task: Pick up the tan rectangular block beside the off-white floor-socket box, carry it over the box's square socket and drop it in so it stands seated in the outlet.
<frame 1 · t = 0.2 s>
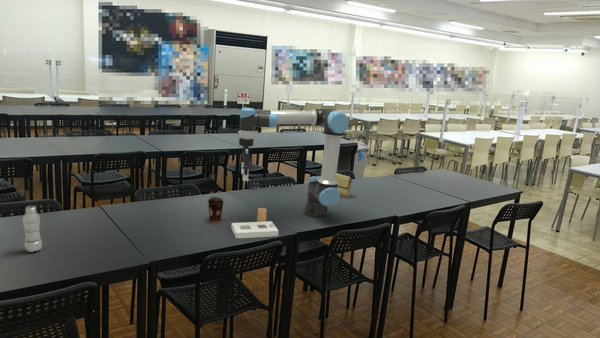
hand: (244, 177, 234), 27 cm above the table, fingers open, 13 cm apart
socket box: (254, 232, 231), on the table
coffee cup: (214, 221, 242), on the table
clutch purse: (332, 193, 313), on the table
tan rectangular block: (261, 222, 245), on the table
plastic bottle: (33, 251, 191), on the table
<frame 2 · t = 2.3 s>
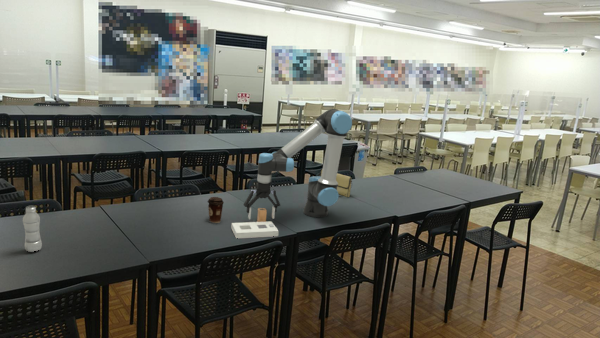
hand: (261, 218, 244), 3 cm above the table, fingers open, 13 cm apart
nothing on the table moved.
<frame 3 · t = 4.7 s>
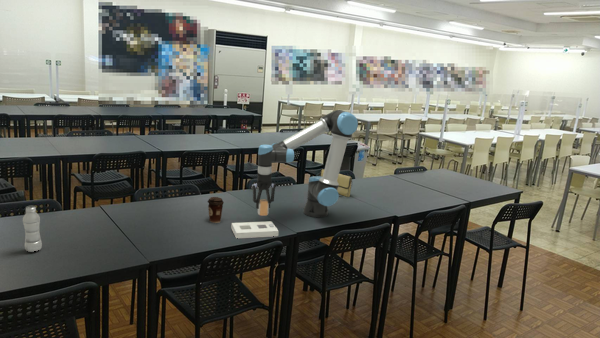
hand: (262, 213, 244), 5 cm above the table, fingers closed on tan rectangular block, 4 cm apart
tan rectangular block: (262, 214, 244), point 5 cm above the table, touching gripper
everything else where it was.
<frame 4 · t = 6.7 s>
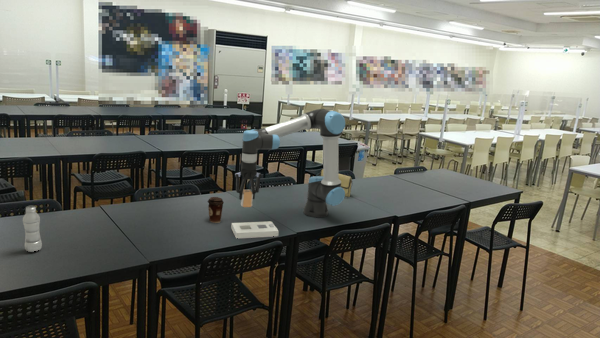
hand: (246, 205, 226), 15 cm above the table, fingers closed on tan rectangular block, 4 cm apart
tan rectangular block: (246, 205, 226), point 15 cm above the table, touching gripper
everything else where it was.
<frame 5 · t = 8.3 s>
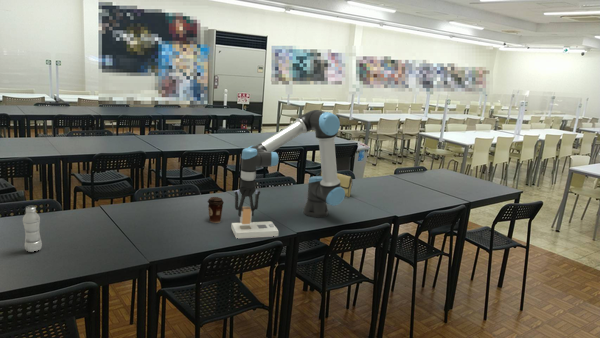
hand: (245, 222, 228), 6 cm above the table, fingers closed on tan rectangular block, 4 cm apart
tan rectangular block: (245, 222, 228), point 6 cm above the table, touching gripper
everything else where it was.
when the fingers open (5 cm above the table, at t = 9.2 s): tan rectangular block drops 4 cm, resting in socket box.
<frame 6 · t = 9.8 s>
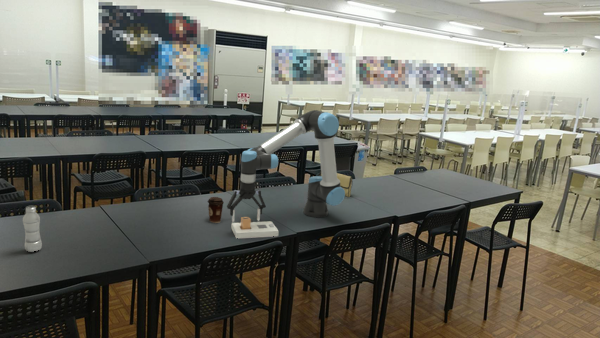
hand: (245, 220, 228), 7 cm above the table, fingers open, 13 cm apart
tan rectangular block: (245, 232, 229), resting in socket box
everything else where it was.
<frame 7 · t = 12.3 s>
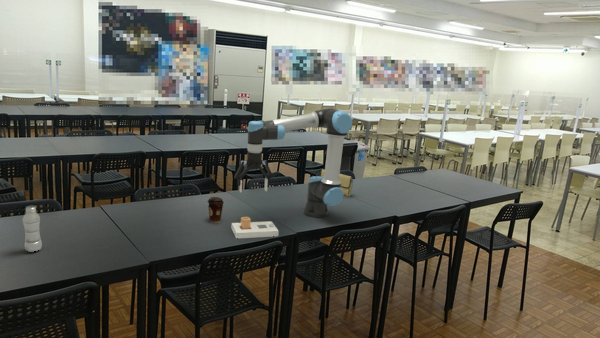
hand: (253, 191, 230), 21 cm above the table, fingers open, 13 cm apart
nothing on the table moved.
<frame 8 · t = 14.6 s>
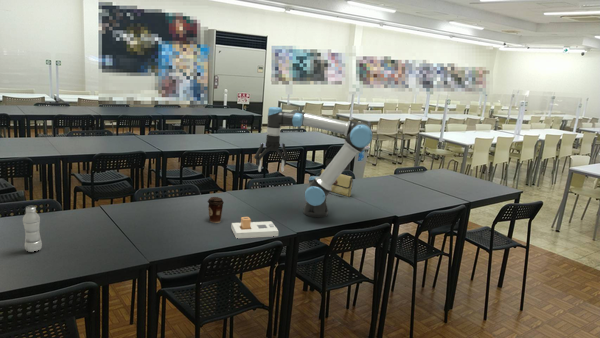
hand: (270, 171, 252), 27 cm above the table, fingers open, 13 cm apart
nothing on the table moved.
at the end: tan rectangular block 0.1 cm from the target spot on the socket box, point 0.0 cm above the socket box's base; tan rectangular block tilted 0°; the gripper is holding nothing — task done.
